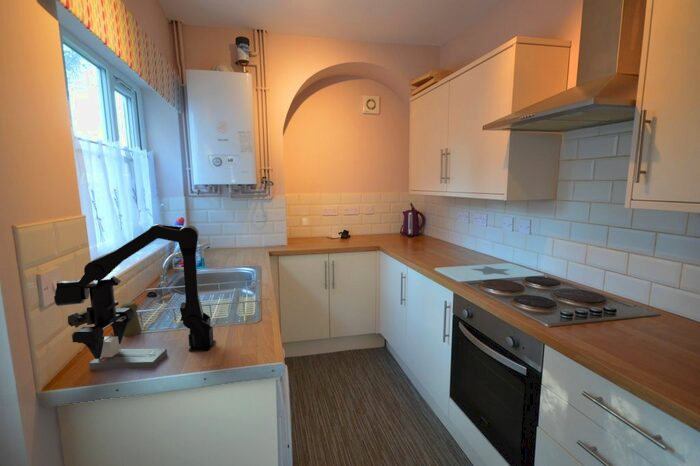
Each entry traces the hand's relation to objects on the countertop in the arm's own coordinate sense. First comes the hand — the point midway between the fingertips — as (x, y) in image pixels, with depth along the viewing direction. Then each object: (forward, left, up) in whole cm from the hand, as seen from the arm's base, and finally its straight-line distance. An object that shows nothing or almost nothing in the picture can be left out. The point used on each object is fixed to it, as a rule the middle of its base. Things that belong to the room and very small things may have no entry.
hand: (108, 351), depth 104 cm
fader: (0, 0, -1) cm, 1 cm away
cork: (+6, -21, -4) cm, 22 cm away
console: (-6, 0, -4) cm, 7 cm away
